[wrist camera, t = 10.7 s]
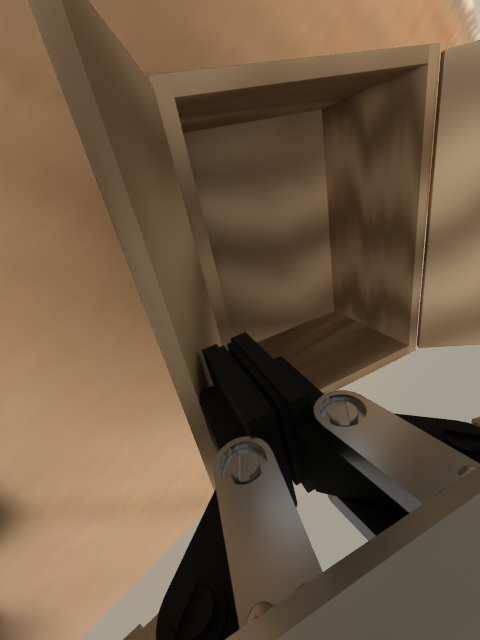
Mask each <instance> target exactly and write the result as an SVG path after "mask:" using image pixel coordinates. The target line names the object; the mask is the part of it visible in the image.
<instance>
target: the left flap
mask: <svg viewBox="0 0 480 640" xmlns="http://www.w3.org/2000/svg"><path fill="white" fill-rule="evenodd" d="M28 1H29V4H30V6H31V9H32V12H33V14H34V17H35V19H36V22H37V25H38V27H39V30H40V33H41V35H42V38H43V41H44V43H45V46H46V48H47V51H48V54H49V56H50V59H51V62H52V64H53V67H54V70H55V72H56V75H57V77H58V80H59V83H60V85H61V88H62V91H63V93H64V96H65V99H66V101H67V104H68V106H69V109H70V112H71V114H72V117H73V120H74V122H75V125H76V128H77V130H78V133H79V135H80V138H81V141H82V143H83V146H84V149H85V151H86V154H87V157H88V159H89V162H90V164H91V167H92V170H93V172H94V175H95V178H96V180H97V183H98V186H99V188H100V191H101V193H102V196H103V199H104V201H105V204H106V207H107V209H108V212H109V215H110V217H111V220H112V222H113V225H114V228H115V230H116V233H117V236H118V238H119V241H120V244H121V246H122V249H123V251H124V254H125V257H126V259H127V262H128V265H129V267H130V270H131V272H132V275H133V278H134V280H135V283H136V286H137V288H138V291H139V294H140V296H141V299H142V301H143V304H144V307H145V309H146V312H147V315H148V317H149V320H150V323H151V325H152V328H153V330H154V333H155V336H156V338H157V341H158V344H159V346H160V349H161V352H162V354H163V357H164V359H165V362H166V365H167V367H168V370H169V373H170V375H171V378H172V381H173V383H174V386H175V388H176V391H177V394H178V396H179V399H180V402H181V404H182V407H183V410H184V412H185V415H186V417H187V420H188V423H189V425H190V428H191V431H192V433H193V436H194V439H195V441H196V444H197V446H198V449H199V452H200V454H201V457H202V460H203V462H204V465H205V468H206V470H207V473H208V475H209V478H210V481H211V483H212V486H213V489H214V491H215V489H216V487H215V481H214V475H213V463H214V460H215V457H216V455H217V454H218V449H217V447H216V445H215V442H214V440H213V437H212V435H211V432H210V429H209V427H208V423H207V421H206V418H205V416H204V413H203V411H202V408H201V405H200V403H199V401H200V393H201V391H202V390H204V389H206V388H208V387H211V386H213V383H212V380H211V377H210V374H209V371H208V368H207V365H206V362H205V359H204V356H203V353H202V349H205V348H207V347H210V346H212V345H215V344H217V345H218V346H219V347H220V346H222V343H221V339H220V336H219V332H218V328H217V324H216V321H215V317H214V313H213V309H212V306H211V302H210V298H209V294H208V291H207V287H206V283H205V279H204V276H203V272H202V268H201V264H200V261H199V257H198V253H197V249H196V246H195V242H194V238H193V234H192V231H191V227H190V223H189V219H188V215H187V212H186V208H185V204H184V200H183V197H182V193H181V189H180V185H179V182H178V178H177V174H176V170H175V167H174V163H173V159H172V155H171V152H170V148H169V144H168V140H167V137H166V133H165V129H164V125H163V122H162V118H161V114H160V110H159V107H158V103H157V99H156V95H155V92H154V88H153V85H152V83H151V82H150V81H149V80H148V78H147V77H146V76H145V74H144V73H143V72H142V70H141V69H140V68H139V66H138V65H137V64H136V62H135V61H134V60H133V59H132V57H131V56H130V55H129V53H128V52H127V51H126V49H125V48H124V47H123V45H122V44H121V43H120V41H119V40H118V39H117V38H116V36H115V35H114V34H113V32H112V31H111V30H110V28H109V27H108V26H107V24H106V23H105V22H104V20H103V19H102V18H101V16H100V15H99V14H98V13H97V11H96V10H95V9H94V7H93V6H92V5H91V3H90V2H89V1H88V0H28Z"/></svg>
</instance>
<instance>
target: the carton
mask: <svg viewBox="0 0 480 640" xmlns="http://www.w3.org/2000/svg"><path fill="white" fill-rule="evenodd" d="M439 53H440V43H435V44H426V45H417V46H407V47H398V48H389V49H380V50H371V51H362V52H353V53H344V54H335V55H326V56H317V57H308V58H299V59H290V60H281V61H272V62H263V63H254V64H245V65H236V66H227V67H218V68H209V69H200V70H191V71H182V72H173V73H164V74H155V75H148V80H149V81H150V82H151V83H152V85H153V88H154V92H155V95H156V99H157V103H158V107H159V110H160V114H161V118H162V122H163V125H164V129H165V133H166V137H167V140H168V144H169V148H170V152H171V155H172V159H173V163H174V167H175V170H176V174H177V178H178V182H179V185H180V189H181V193H182V197H183V200H184V204H185V208H186V212H187V215H188V219H189V223H190V227H191V231H192V234H193V238H194V242H195V246H196V249H197V253H198V257H199V261H200V264H201V268H202V272H203V276H204V279H205V283H206V287H207V291H208V294H209V298H210V302H211V306H212V309H213V313H214V317H215V321H216V324H217V328H218V332H219V336H220V339H221V343H222V346H223V345H224V346H225V347H226V349H227V350H228V347H227V344H228V343H230V342H231V338H232V337H234V336H237V335H239V334H242V333H244V332H246V333H247V334H248V335H249V336H250V337H251V338H252V339H253V340H255V341H256V342H257V343H258V344H259V345H260V346H261V347H262V348H263V349H264V350H265V351H266V352H267V353H268V354H269V355H270V356H271V357H272V358H273V359H274V358H277V357H279V356H281V357H283V358H284V359H285V360H287V361H288V362H289V363H290V364H291V365H292V366H293V367H294V368H296V369H297V370H298V371H299V372H300V373H301V374H302V375H303V376H305V377H306V378H307V379H308V380H309V381H310V382H311V383H312V384H313V385H315V386H316V387H317V388H318V389H319V390H320V391H321V392H322V393H324V394H326V393H328V392H332V391H336V390H338V389H339V388H342V387H343V386H346V385H348V384H349V383H351V382H354V381H355V380H357V379H359V378H361V377H363V376H365V375H367V374H369V373H371V372H373V371H375V370H377V369H379V368H381V367H383V366H385V365H387V364H389V363H391V362H393V361H395V360H397V359H399V358H401V357H403V356H405V355H407V354H409V353H411V352H413V351H415V348H416V335H417V323H418V310H419V299H420V298H419V297H420V287H421V274H422V261H423V249H424V238H425V237H424V236H425V225H426V213H427V201H428V188H429V176H430V164H431V152H432V139H433V127H434V115H435V103H436V90H437V78H438V66H439Z"/></svg>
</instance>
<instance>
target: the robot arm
mask: <svg viewBox="0 0 480 640" xmlns="http://www.w3.org/2000/svg"><path fill="white" fill-rule="evenodd" d="M227 347H228V350H227V349H226V347H225V346H224V345H223V346H220V347H219V346H218V345H217V344H215V345H212V346H210V347H207V348H205V349H202V353H203V356H204V359H205V362H206V365H207V368H208V371H209V374H210V377H211V380H212V383H213V386H211V387H208V388H206V389H204V390H202V391H201V393H200V401H199V403H200V405H201V408H202V411H203V413H204V416H205V418H206V421H207V423H208V427H209V429H210V432H211V435H212V437H213V440H214V442H215V445H216V447H217V449H218V454H217V455H216V457H215V460H214V463H213V475H214V481H215V487H216V489H215V491H214V493H213V496H212V498H211V500H210V502H209V504H208V506H207V508H206V510H205V512H204V515H203V517H202V519H201V521H200V523H199V525H198V527H197V530H196V532H195V533H194V536H193V538H192V540H191V542H190V544H189V546H188V548H187V550H186V553H185V555H184V557H183V559H182V561H181V563H180V565H179V567H178V569H177V571H176V574H175V576H174V578H173V580H172V582H171V584H170V586H169V588H168V591H167V592H166V595H165V597H164V599H163V602H162V605H161V607H160V610H159V613H158V614H157V615H156V616H155V617H154V618H153V619H152V620H151V621H150V622H149V623H148V624H147V625H146V626H145V627H144V628H143V627H142V626H141V624H139V625H138V626H137V627H136V628H135V629H134V630H133V631H132V632H131V633H130V634H129V635H128V636H126V638H124V639H123V640H480V417H478V418H475V419H472V423H471V424H470V423H466V422H461V421H456V420H447V419H438V418H429V417H420V416H411V415H402V414H393V413H391V412H389V411H388V410H386V409H384V408H383V407H381V406H379V405H378V404H376V403H374V402H372V401H371V400H369V399H367V398H365V397H364V396H362V395H360V394H357V393H355V392H351V391H346V390H344V391H343V390H338V391H332V392H328V393H326V394H324V393H322V392H321V391H320V390H319V389H318V388H317V387H316V386H315V385H313V384H312V383H311V382H310V381H309V380H308V379H307V378H306V377H305V376H303V375H302V374H301V373H300V372H299V371H298V370H297V369H296V368H294V367H293V366H292V365H291V364H290V363H289V362H288V361H287V360H285V359H284V358H283V357H281V356H279V357H277V358H274V359H273V358H272V357H271V356H270V355H269V354H268V353H267V352H266V351H265V350H264V349H263V348H262V347H261V346H260V345H259V344H258V343H257V342H256V341H255V340H253V339H252V338H251V337H250V336H249V335H248V334H247V333H246V332H244V333H242V334H239V335H237V336H234V337H232V338H231V342H230V343H228V344H227ZM292 481H293V482H294V483H295V484H296V485H298V484H300V483H302V485H303V486H304V488H305V489H306V491H307V492H308V493H309V492H311V491H312V490H314V489H315V490H316V491H317V492H321V493H325V494H328V497H329V499H330V500H331V501H332V503H333V504H334V505H335V506H336V507H337V508H338V509H339V510H340V512H342V514H343V515H344V516H345V517H346V518H347V519H348V520H349V521H350V522H351V523H352V524H353V525H354V526H355V527H356V528H357V529H358V530H359V531H360V532H361V534H362V535H363V536H364V537H365V538H366V539H367V540H368V542H367V543H365V544H364V545H362V546H361V547H360V548H358V549H356V550H355V551H354V552H352V553H351V554H349V555H348V556H346V557H345V558H344V559H342V560H340V561H339V562H337V563H336V564H334V565H333V566H331V567H330V568H329V569H327V570H326V571H325V572H322V570H321V567H320V565H319V562H318V560H317V558H316V555H315V553H314V550H313V548H312V546H311V543H310V541H309V538H308V536H307V533H306V531H305V529H304V526H303V524H302V522H301V519H300V517H299V514H298V512H297V510H296V507H297V500H296V495H295V492H294V487H293V483H292Z"/></svg>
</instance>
